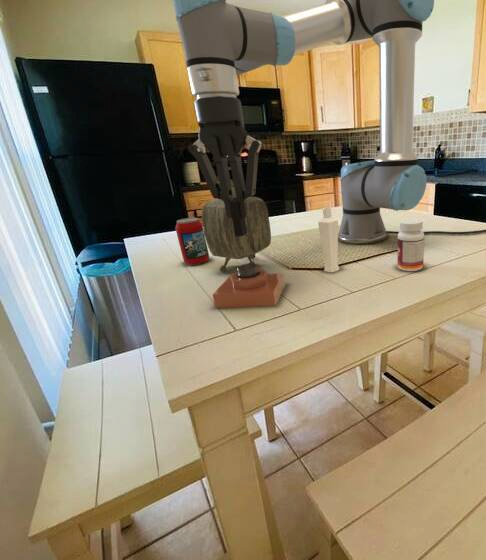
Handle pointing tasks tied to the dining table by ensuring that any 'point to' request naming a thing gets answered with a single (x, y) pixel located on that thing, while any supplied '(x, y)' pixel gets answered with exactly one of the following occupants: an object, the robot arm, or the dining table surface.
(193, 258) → the beverage can
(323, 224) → the perfume bottle
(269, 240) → the tabletop clock
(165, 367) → the dining table surface
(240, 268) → the dark grey short cylinder
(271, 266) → the dining table surface
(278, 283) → the brown stepped base
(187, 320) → the dining table surface
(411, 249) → the pill bottle
